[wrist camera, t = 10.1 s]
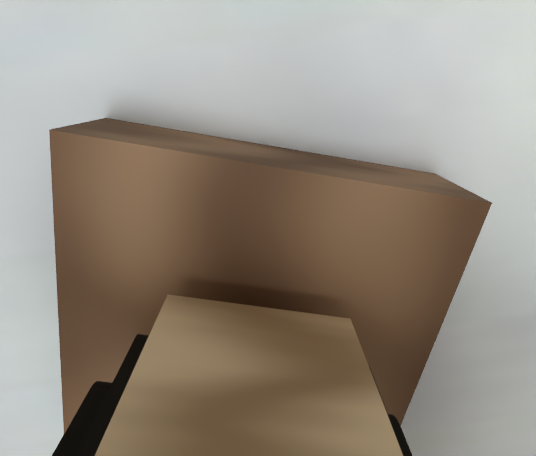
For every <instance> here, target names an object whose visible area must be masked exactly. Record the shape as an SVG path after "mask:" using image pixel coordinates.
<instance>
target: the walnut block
mask: <svg viewBox="0 0 536 456" xmlns="http://www.w3.org/2000/svg"><path fill="white" fill-rule="evenodd" d="M50 151H51V171H52V192H53V213H54V234H55V254H56V275H57V296H58V317H59V337H60V358H61V379H62V400H63V421H64V434H65V432H66V430H67V428H68V427H69V425H70V423H71V421H72V420H73V418H74V416H75V414H76V413H77V411H78V409H79V407H80V405H81V404H82V402H83V400H84V398H85V397H86V395H87V393H88V391H89V390H90V388H91V387H92V385H93V384H94V383H95V382H96V381H102V382H110V383H112V382H113V380H114V379H115V377H116V375H117V373H118V371H119V369H120V367H121V365H122V363H123V361H124V359H125V357H126V355H127V353H128V351H129V349H130V347H131V345H132V343H133V341H134V339H135V337H136V335H137V334H143V335H149V334H150V332H151V330H152V328H153V326H154V323H155V321H156V319H157V317H158V315H159V312H160V310H161V308H162V306H163V303H164V301H165V299H166V297H167V295H176V296H183V297H191V298H199V299H206V300H214V301H221V302H229V303H236V304H244V305H251V306H259V307H266V308H274V309H282V310H289V311H297V312H304V313H312V314H319V315H327V316H334V317H342V318H350V319H351V321H352V324H353V326H354V329H355V332H356V334H357V337H358V339H359V342H360V345H361V347H362V350H363V352H364V355H365V358H366V360H367V363H368V364H369V366H370V369H371V371H372V374H373V376H374V379H375V382H376V384H377V387H378V389H379V392H380V395H381V397H382V400H383V402H384V405H385V408H386V410H387V413H388V414H391V415H394V416H395V417H396V418H397V420H398V422H399V424H400V425H401V423H402V420H403V418H404V415H405V413H406V411H407V408H408V406H409V403H410V401H411V398H412V396H413V393H414V391H415V389H416V386H417V384H418V381H419V379H420V376H421V374H422V372H423V369H424V367H425V364H426V362H427V359H428V357H429V355H430V352H431V350H432V347H433V345H434V342H435V340H436V338H437V335H438V333H439V330H440V328H441V325H442V323H443V321H444V318H445V316H446V313H447V311H448V308H449V306H450V303H451V301H452V299H453V296H454V294H455V291H456V289H457V286H458V284H459V282H460V279H461V277H462V274H463V272H464V269H465V267H466V265H467V262H468V260H469V257H470V255H471V252H472V250H473V248H474V245H475V243H476V240H477V238H478V235H479V233H480V231H481V228H482V226H483V223H484V221H485V218H486V216H487V214H488V211H489V209H490V206H491V204H492V203H491V202H489V201H487V200H485V199H483V198H481V197H479V196H477V195H476V194H474V193H472V192H470V191H468V190H466V189H464V188H462V187H460V186H458V185H456V184H454V183H452V182H450V181H448V180H446V179H444V178H442V177H440V176H438V175H436V174H434V173H428V172H422V171H416V170H410V169H404V168H398V167H392V166H386V165H380V164H374V163H369V162H363V161H357V160H351V159H345V158H339V157H333V156H327V155H321V154H315V153H309V152H303V151H298V150H292V149H286V148H280V147H274V146H268V145H262V144H256V143H250V142H244V141H238V140H232V139H227V138H221V137H215V136H209V135H203V134H197V133H191V132H185V131H179V130H173V129H167V128H161V127H156V126H150V125H144V124H138V123H132V122H126V121H120V120H114V119H108V118H104V119H99V120H94V121H90V122H85V123H80V124H75V125H70V126H66V127H61V128H56V129H51V130H50Z"/></svg>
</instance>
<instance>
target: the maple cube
mask: <svg viewBox="0 0 536 456" xmlns="http://www.w3.org/2000/svg"><path fill="white" fill-rule="evenodd" d="M95 456H403V454H402V451H401V449H400V446H399V444H398V441H397V438H396V436H395V433H394V431H393V428H392V425H391V423H390V420H389V418H388V415H387V412H386V410H385V407H384V404H383V402H382V399H381V397H380V394H379V391H378V389H377V386H376V384H375V381H374V378H373V376H372V373H371V371H370V368H369V365H368V363H367V360H366V358H365V355H364V352H363V350H362V347H361V345H360V342H359V339H358V337H357V334H356V332H355V329H354V326H353V324H352V321H351V319H350V318H342V317H334V316H327V315H319V314H312V313H304V312H297V311H289V310H282V309H274V308H266V307H259V306H251V305H244V304H236V303H229V302H221V301H214V300H206V299H199V298H191V297H183V296H176V295H167V297H166V299H165V301H164V303H163V306H162V308H161V310H160V312H159V315H158V317H157V319H156V321H155V323H154V326H153V328H152V330H151V332H150V334H149V337H148V339H147V341H146V343H145V345H144V348H143V350H142V352H141V354H140V357H139V359H138V361H137V363H136V365H135V368H134V370H133V372H132V374H131V376H130V379H129V381H128V383H127V385H126V388H125V390H124V392H123V394H122V396H121V399H120V401H119V403H118V405H117V407H116V410H115V412H114V414H113V416H112V418H111V421H110V423H109V425H108V427H107V430H106V432H105V434H104V436H103V438H102V441H101V443H100V445H99V447H98V449H97V452H96V454H95Z"/></svg>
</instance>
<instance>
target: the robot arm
mask: <svg viewBox="0 0 536 456" xmlns="http://www.w3.org/2000/svg"><path fill="white" fill-rule="evenodd" d="M148 337H149V335H143V334H137V335H136V337H135V339H134V341H133V343H132V345H131V347H130V349H129V351H128V353H127V355H126V357H125V359H124V361H123V363H122V365H121V367H120V369H119V371H118V373H117V375H116V377H115V379H114V380H113V382H112V383H110V382H102V381H96V382H95V383H94V384H93V385H92V387H91V388H90V390H89V391H88V393H87V395H86V397H85V398H84V400H83V402H82V404H81V405H80V407H79V409H78V411H77V413H76V414H75V416H74V418H73V420H72V421H71V423H70V425H69V427H68V428H67V430H66V432H65V434H64V435H63V437H62V439H61V441H60V443H59V444H58V446H57V448H56V450H55V451H54V453H53V455H52V456H95V454H96V452H97V449H98V447H99V445H100V443H101V441H102V438H103V436H104V434H105V432H106V430H107V427H108V425H109V423H110V421H111V418H112V416H113V414H114V412H115V410H116V407H117V405H118V403H119V401H120V399H121V396H122V394H123V392H124V390H125V388H126V385H127V383H128V381H129V379H130V376H131V374H132V372H133V370H134V368H135V365H136V363H137V361H138V359H139V357H140V354H141V352H142V350H143V348H144V345H145V343H146V341H147V339H148ZM368 365H369V364H368ZM369 368H370V366H369ZM370 371H371V369H370ZM371 373H372V371H371ZM372 376H373V374H372ZM373 378H374V376H373ZM374 381H375V379H374ZM375 384H376V382H375ZM376 386H377V384H376ZM377 389H378V387H377ZM378 391H379V389H378ZM379 394H380V392H379ZM380 397H381V395H380ZM381 399H382V397H381ZM382 402H383V400H382ZM383 404H384V402H383ZM384 407H385V405H384ZM385 410H386V408H385ZM386 412H387V410H386ZM387 415H388V418H389V420H390V423H391V425H392V428H393V431H394V433H395V436H396V438H397V441H398V444H399V446H400V449H401V451H402V454H403V456H412V454H411V451H410V449H409V446H408V444H407V441H406V439H405V436H404V434H403V432H402V429H401V427H400V424H399V422H398V420H397V418H396V417H395V416H394V415H391V414H388V413H387Z"/></svg>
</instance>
